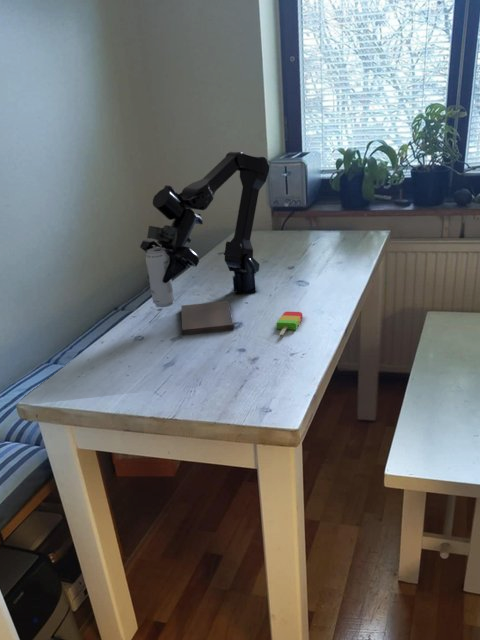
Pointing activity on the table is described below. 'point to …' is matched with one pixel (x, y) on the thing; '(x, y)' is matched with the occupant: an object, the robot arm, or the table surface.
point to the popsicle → (289, 321)
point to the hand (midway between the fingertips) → (156, 280)
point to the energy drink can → (159, 277)
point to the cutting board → (206, 318)
